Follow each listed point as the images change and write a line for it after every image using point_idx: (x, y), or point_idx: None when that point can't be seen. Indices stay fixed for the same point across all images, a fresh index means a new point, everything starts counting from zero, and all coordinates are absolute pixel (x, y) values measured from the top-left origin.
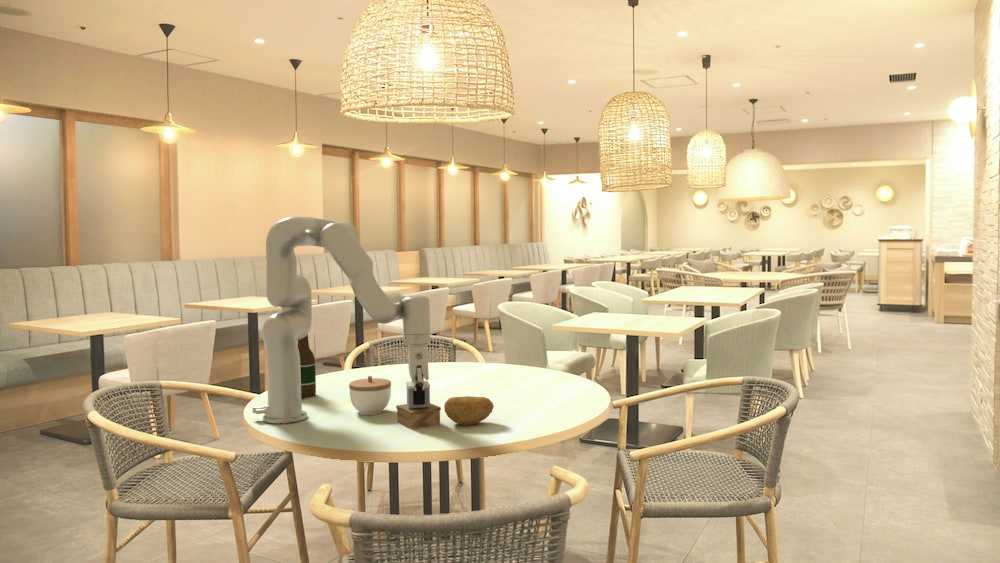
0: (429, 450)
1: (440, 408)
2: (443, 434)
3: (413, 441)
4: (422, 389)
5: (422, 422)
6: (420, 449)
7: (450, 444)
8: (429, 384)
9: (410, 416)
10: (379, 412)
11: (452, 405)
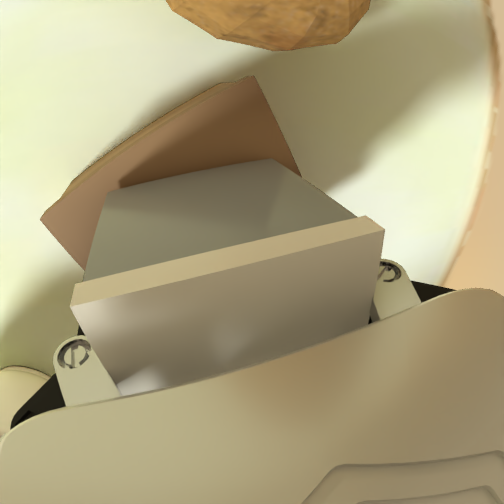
0: (483, 154)
1: (252, 77)
2: (384, 85)
3: (421, 197)
4: (395, 277)
5: None
6: (473, 176)
7: (467, 89)
8: (349, 239)
9: None
10: (40, 374)
11: (367, 7)
